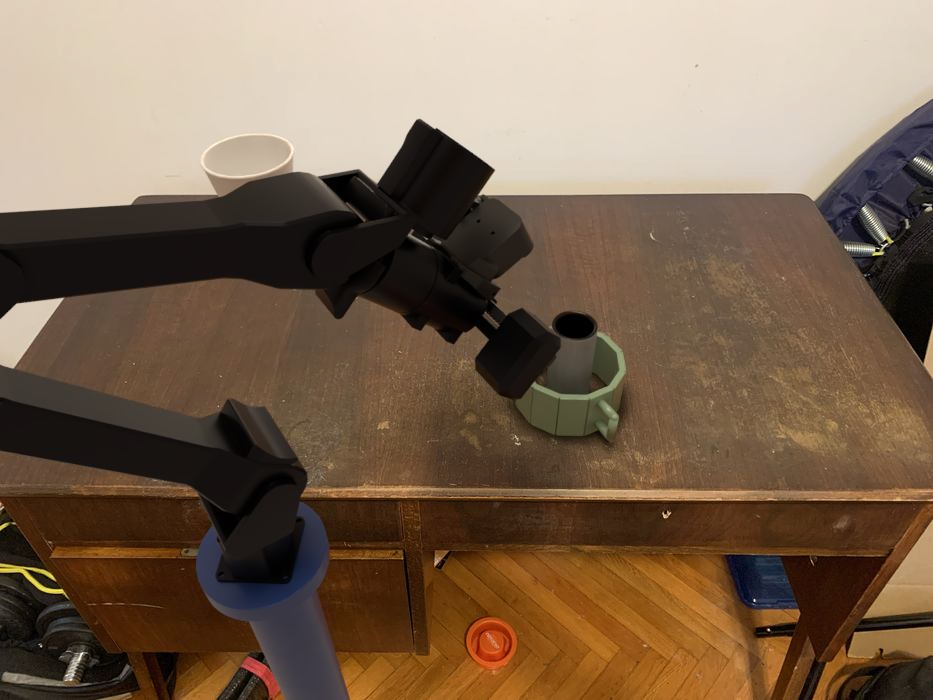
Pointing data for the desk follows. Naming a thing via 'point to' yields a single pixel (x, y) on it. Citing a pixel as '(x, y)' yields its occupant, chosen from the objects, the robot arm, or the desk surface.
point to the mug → (581, 399)
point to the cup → (246, 160)
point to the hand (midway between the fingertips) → (521, 331)
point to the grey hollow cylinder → (573, 353)
